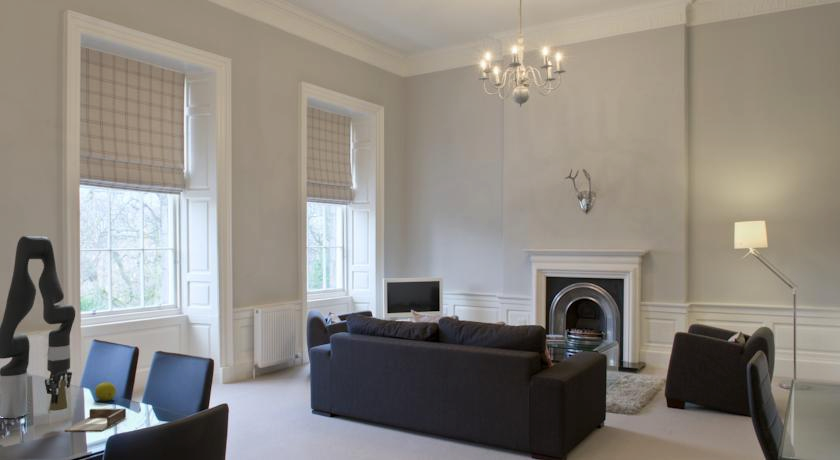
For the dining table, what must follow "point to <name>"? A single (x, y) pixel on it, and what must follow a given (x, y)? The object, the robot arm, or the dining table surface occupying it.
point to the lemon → (105, 391)
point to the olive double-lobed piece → (60, 397)
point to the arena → (98, 420)
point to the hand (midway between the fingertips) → (58, 402)
